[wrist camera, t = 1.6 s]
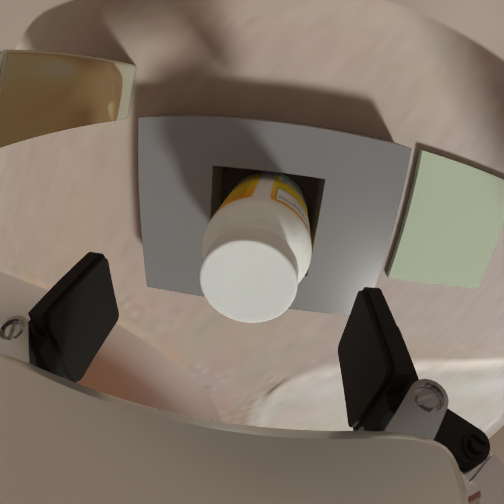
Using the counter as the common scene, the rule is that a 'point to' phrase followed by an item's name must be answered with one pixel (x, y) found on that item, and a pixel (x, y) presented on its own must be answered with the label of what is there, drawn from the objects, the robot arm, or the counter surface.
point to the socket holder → (275, 160)
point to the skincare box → (59, 92)
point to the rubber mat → (448, 224)
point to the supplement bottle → (256, 249)
